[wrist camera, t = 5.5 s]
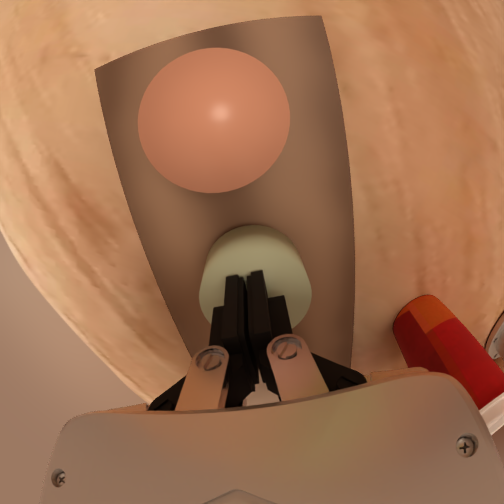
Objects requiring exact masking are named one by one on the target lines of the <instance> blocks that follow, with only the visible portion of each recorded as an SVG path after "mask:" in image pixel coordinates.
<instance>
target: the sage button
mask: <svg viewBox="0 0 504 504" xmlns="http://www.w3.org/2000/svg"><path fill="white" fill-rule="evenodd" d="M260 270H263V274H264V279H265V284H266V289H267V294H268V298H270V297H276V296H281V295H284V296H285V300H286V305H287V309H288V314H289V318H290V323H291V328H292V329H293V328H294V327H295V326H296V325H297V324H298V323H299V322H300V321H301V320H302V319H303V318H304V316H305V315H306V313H307V311H308V309H309V306H310V303H311V297H312V290H311V285H310V282H309V279H308V276H307V273H306V271H305V268H304V265H303V263H302V260H301V257H300V255H299V252H298V250H297V248H296V246H295V245H294V243H293V242H292V241H291V240H290V239H289V238H288V237H287V236H286V235H284V234H283V233H281V232H280V231H278V230H276V229H273V228H271V227H267V226H261V225H248V226H242V227H238V228H235V229H233V230H231V231H229V232H227V233H225V234H224V235H223V236H221V237H220V238H219V239H218V240H217V241H216V242H215V243H214V245H213V246H212V247H211V249H210V251H209V253H208V256H207V260H206V264H205V269H204V273H203V277H202V282H201V286H200V291H199V302H200V306H201V310H202V312H203V314H204V316H205V317H206V319H207V320H208V321H209V323H210V324H211V322H212V314H213V308H214V307H218V306H224V294H225V282H226V277H227V276H233V275H239V277H243V278H244V281H245V285H246V289H247V276H250V275H251V272H254V271H260Z"/></svg>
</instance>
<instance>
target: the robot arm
mask: <svg viewBox="0 0 504 504" xmlns="http://www.w3.org/2000/svg"><path fill="white" fill-rule="evenodd" d="M485 350H486V352H487V353H488V354H489V355H490V357H491V358H492V359H496V358H499V357H502V359H503V360H504V313H503V315H502V316H501V317H500V319H499V320H498V322H497V324H496V325H495V327H494V329H493V330H492V332H491V334H490V336H489V338H488V341H487V344H486V349H485ZM259 371H260V375H261V378H262V381H263V383H266V386H267V389H268V390H269V391H271V392H272V393H274V394H276V395H278V399H279V402H273V403H266V404H259V405H251V406H246V405H247V399H246V397H247V396H248V395H249V394H250V393H251V392H255V384H259ZM39 504H504V467H503V464H502V461H501V459H500V456H499V453H498V451H497V449H496V446H495V444H494V441H493V439H492V436H491V434H490V432H489V430H488V427H487V425H486V423H485V421H484V419H483V417H482V415H481V414H480V412H479V410H478V408H477V406H476V404H475V403H474V401H473V400H472V398H471V396H470V395H469V394H468V392H467V391H466V389H465V388H464V387H463V386H462V385H461V383H460V382H459V381H457V380H456V379H455V378H454V377H452V376H450V375H448V374H445V373H439V372H429V371H428V370H427V369H425V368H422V367H412V368H405V369H397V370H388V371H379V372H371V374H370V375H362V374H361V373H359V372H357V371H355V370H352V369H350V368H347V367H345V366H342V365H340V364H338V363H335V362H333V361H330V360H328V359H326V358H323V357H321V356H319V355H316V354H314V353H312V352H310V350H309V348H308V346H307V344H306V342H305V341H304V340H303V338H301V337H300V336H298V335H294V334H293V332H292V328H291V323H290V318H289V314H288V309H287V305H286V300H285V296H284V295H281V296H276V297H270V298H268V294H267V289H266V284H265V279H264V274H263V270H260V271H254V272H251V275H250V276H247V289H246V285H245V281H244V278H243V277H239V275H233V276H227V277H226V282H225V294H224V306H218V307H214V308H213V314H212V322H211V330H210V339H209V346H207V347H205V348H202V349H201V350H199V351H198V352H197V353H196V354H195V355H194V357H193V359H192V361H191V364H190V367H189V370H188V373H187V375H186V376H185V377H183V378H182V379H181V380H180V381H178V382H177V383H176V384H174V385H173V386H172V387H170V388H169V389H168V390H167V391H165V392H164V393H163V394H161V395H160V396H159V397H157V398H156V399H155V400H154V401H153V402H152V403H151V404H150V405H147V403H143V404H138V405H132V406H127V407H121V408H115V409H109V410H104V411H94V412H88V413H85V414H81V415H78V416H76V417H74V418H72V419H70V420H69V421H68V422H67V423H66V424H65V425H64V427H63V428H62V430H61V432H60V434H59V436H58V438H57V441H56V443H55V446H54V448H53V451H52V454H51V457H50V460H49V464H48V467H47V471H46V475H45V479H44V483H43V487H42V492H41V496H40V502H39Z"/></svg>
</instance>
